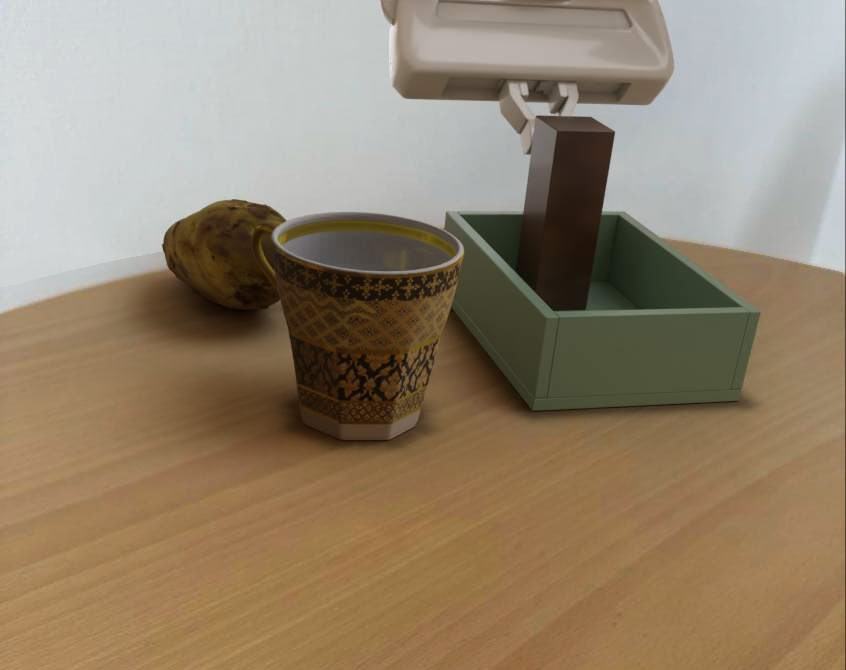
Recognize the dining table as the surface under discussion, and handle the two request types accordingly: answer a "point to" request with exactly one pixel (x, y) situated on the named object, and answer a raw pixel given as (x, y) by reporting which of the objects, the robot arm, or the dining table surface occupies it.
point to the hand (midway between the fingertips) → (547, 150)
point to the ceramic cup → (361, 314)
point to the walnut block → (564, 208)
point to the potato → (223, 253)
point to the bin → (604, 320)
